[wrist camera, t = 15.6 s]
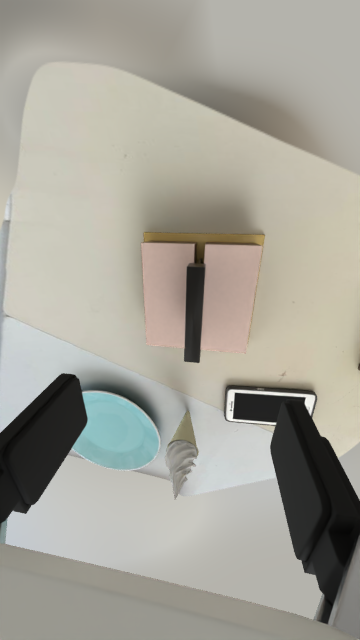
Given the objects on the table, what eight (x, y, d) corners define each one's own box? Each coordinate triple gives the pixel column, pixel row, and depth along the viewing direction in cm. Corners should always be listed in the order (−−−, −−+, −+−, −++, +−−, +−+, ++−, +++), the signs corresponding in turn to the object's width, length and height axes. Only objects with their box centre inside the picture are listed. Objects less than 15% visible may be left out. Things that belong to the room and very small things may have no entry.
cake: (144, 232, 30) (132, 233, 26) (264, 234, 28) (273, 236, 24) (149, 335, 37) (140, 350, 32) (247, 342, 35) (252, 360, 30)
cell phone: (307, 424, 39) (309, 429, 38) (223, 417, 41) (224, 421, 40) (316, 390, 36) (318, 394, 35) (225, 384, 38) (226, 388, 37)
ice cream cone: (187, 397, 41) (174, 483, 27) (206, 413, 42) (203, 504, 28) (169, 409, 43) (149, 496, 29) (188, 425, 43) (176, 515, 30)
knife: (194, 254, 30) (186, 266, 21) (207, 254, 30) (205, 267, 21) (191, 326, 34) (184, 361, 26) (203, 327, 34) (199, 363, 25)
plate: (71, 449, 52) (64, 461, 50) (54, 374, 43) (44, 384, 41) (162, 466, 50) (159, 479, 47) (164, 389, 41) (161, 400, 38)
